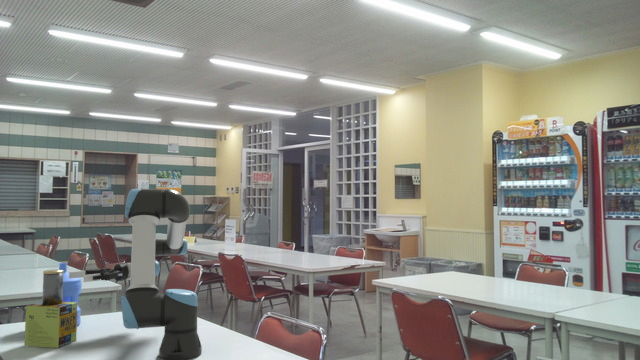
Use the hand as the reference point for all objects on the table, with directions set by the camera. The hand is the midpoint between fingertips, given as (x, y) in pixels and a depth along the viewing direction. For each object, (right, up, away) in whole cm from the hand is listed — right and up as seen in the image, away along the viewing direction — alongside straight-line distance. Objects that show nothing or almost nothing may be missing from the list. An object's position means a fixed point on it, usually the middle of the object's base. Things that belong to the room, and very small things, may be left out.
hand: (76, 276), depth 203 cm
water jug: (-16, -26, +20) cm, 37 cm away
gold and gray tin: (-6, -9, -7) cm, 13 cm away
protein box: (-6, -25, -8) cm, 27 cm away
